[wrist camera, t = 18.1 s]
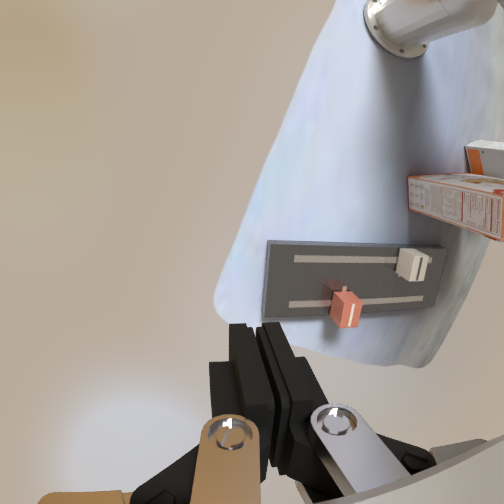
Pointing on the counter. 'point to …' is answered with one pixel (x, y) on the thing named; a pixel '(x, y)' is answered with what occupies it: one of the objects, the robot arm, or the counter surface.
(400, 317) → the counter surface
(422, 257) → the block
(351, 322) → the rust fader
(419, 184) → the cracker box
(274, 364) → the robot arm
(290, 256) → the console
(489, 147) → the skincare box
